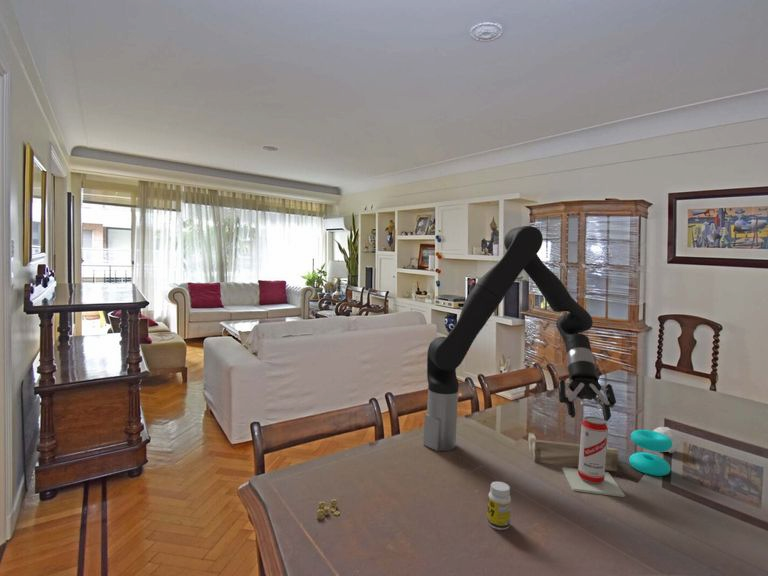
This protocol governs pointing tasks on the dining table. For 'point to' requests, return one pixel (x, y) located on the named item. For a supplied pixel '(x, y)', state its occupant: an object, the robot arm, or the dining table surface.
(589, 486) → the sage tile
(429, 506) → the dining table surface
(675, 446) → the geometric ball
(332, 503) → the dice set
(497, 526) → the supplement bottle
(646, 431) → the donuts
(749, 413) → the dining table surface
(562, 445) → the birch bay
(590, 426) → the beer can
